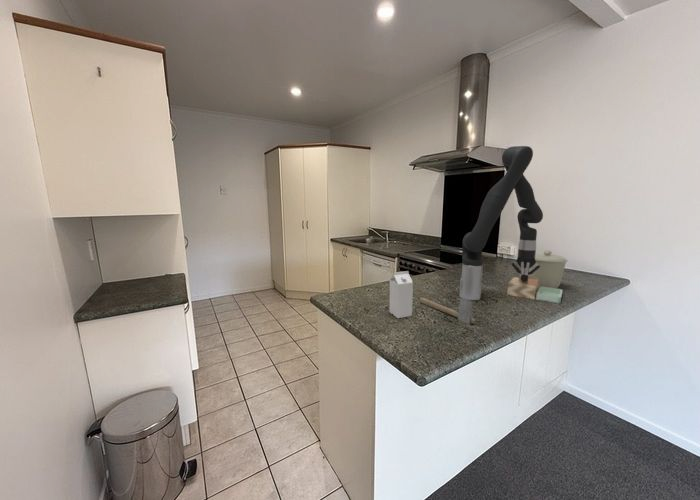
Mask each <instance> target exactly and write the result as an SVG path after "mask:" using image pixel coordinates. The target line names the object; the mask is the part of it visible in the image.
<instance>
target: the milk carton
mask: <svg viewBox="0 0 700 500" xmlns="http://www.w3.org/2000/svg"><path fill="white" fill-rule="evenodd" d="M409 273H410V272H409V270H406V271H396V272H393V274H392V275H393V276H391V278H390V279H389V312H388V313H390V314H391V315H392V314H393V315H392V316H394V317H395V318H396V319H401V318H408V317H412V316H413V295H414V293H413V291H414V290H413V288H414V285H413V284H414V283H413V279H412V278H411V276H410V274H409Z"/></svg>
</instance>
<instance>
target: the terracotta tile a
mask: <svg viewBox="0 0 700 500" xmlns="http://www.w3.org/2000/svg"><path fill="white" fill-rule="evenodd" d="M538 281H539V278H533V277H530V276H529V279H528V285H532V286H538Z"/></svg>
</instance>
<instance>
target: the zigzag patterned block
mask: <svg viewBox="0 0 700 500" xmlns="http://www.w3.org/2000/svg"><path fill="white" fill-rule="evenodd" d="M538 289H539V281H538V286H532V285H528V282H522V281H519V277H516V276H515V277H514V276H513V277H512V278H511V280H510V281H508V283H507V290H506V291H507V293H506V295H507V296H513V297H518V298H524V297H525V299H529V298H530V300H536V294H537V292H538Z"/></svg>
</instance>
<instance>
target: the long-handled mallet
mask: <svg viewBox="0 0 700 500" xmlns="http://www.w3.org/2000/svg"><path fill="white" fill-rule="evenodd" d="M419 303H421V304H423V305H425V306H428V307H430V308H433V309H435V310H437V311H441V312H443V313H445V314H447V315H449V316H452V317H455V318H457V320H458V321H459V322H462V323H464V324H467V325H472V324H475V323H476V320H475V318H474V317H473V316H474V315H473V310H474V309H473V300H468V299H464V298H462V297H459V304H458V305H459V307H458V311H457V310H453V309H452V308H449V307H447V306H444V305H442V304H439V303H437V302H435V301H432V300H430V299H427V298H424V297H420V298H419Z"/></svg>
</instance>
